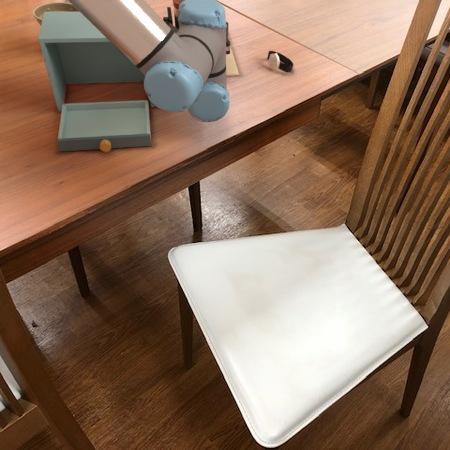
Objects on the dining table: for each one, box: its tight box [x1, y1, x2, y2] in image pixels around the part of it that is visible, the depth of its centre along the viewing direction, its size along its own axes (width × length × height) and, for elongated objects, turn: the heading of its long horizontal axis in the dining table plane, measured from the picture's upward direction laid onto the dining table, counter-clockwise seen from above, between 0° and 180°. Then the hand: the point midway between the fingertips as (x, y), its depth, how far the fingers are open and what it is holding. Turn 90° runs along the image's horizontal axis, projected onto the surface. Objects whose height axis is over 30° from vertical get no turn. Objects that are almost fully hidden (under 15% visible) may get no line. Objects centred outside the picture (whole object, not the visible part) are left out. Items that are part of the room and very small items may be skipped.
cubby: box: [37, 12, 156, 112], centre depth 95 cm, size 11×18×14 cm, turn 104°
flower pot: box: [32, 1, 79, 26], centre depth 108 cm, size 9×9×9 cm
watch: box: [266, 50, 294, 73], centre depth 114 cm, size 8×5×4 cm, turn 36°
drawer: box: [56, 99, 152, 153], centre depth 91 cm, size 13×15×2 cm
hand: (189, 13), depth 113 cm, fingers open, 8 cm apart
